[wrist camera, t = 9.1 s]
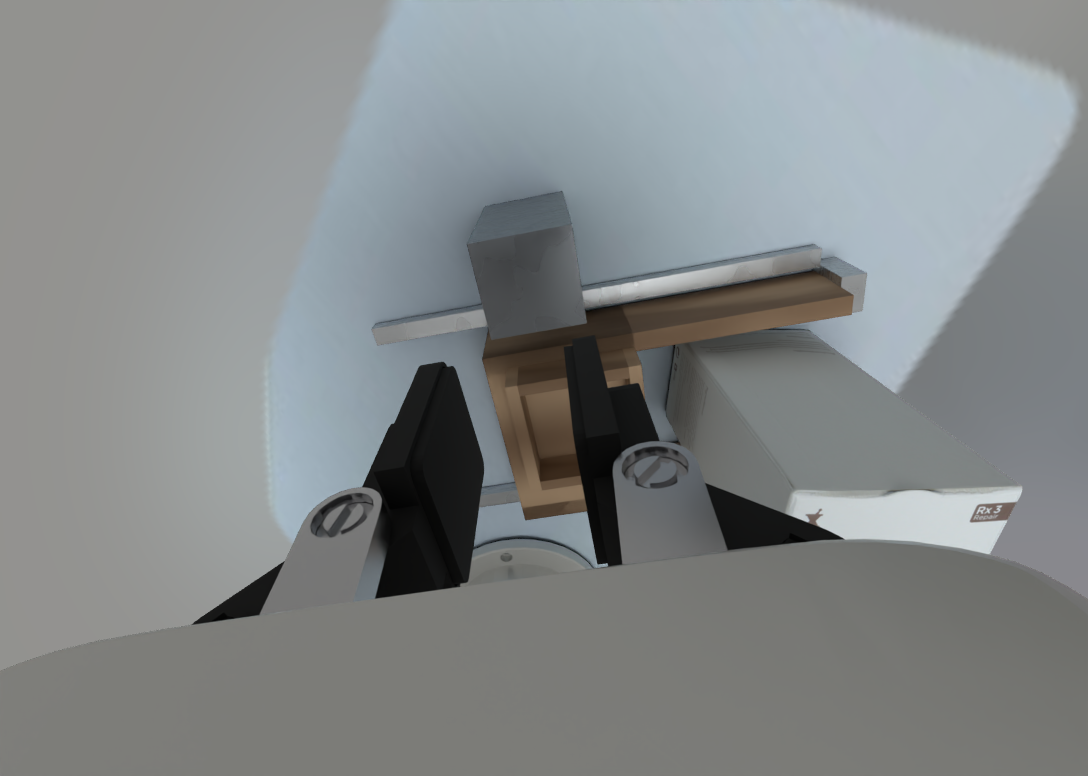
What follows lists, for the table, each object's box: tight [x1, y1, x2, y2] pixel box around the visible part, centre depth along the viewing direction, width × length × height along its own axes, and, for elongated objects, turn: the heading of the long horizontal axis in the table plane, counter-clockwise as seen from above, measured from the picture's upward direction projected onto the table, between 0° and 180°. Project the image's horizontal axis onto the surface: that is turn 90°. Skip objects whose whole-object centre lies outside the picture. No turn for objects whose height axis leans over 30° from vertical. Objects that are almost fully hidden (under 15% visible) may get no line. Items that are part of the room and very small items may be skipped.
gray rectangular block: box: [467, 191, 587, 340], centre depth 24 cm, size 4×4×8 cm
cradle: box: [482, 271, 854, 520], centre depth 29 cm, size 11×18×6 cm, turn 100°
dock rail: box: [372, 245, 867, 507], centre depth 30 cm, size 14×26×3 cm, turn 100°
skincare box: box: [666, 330, 1022, 554], centre depth 25 cm, size 8×6×15 cm
